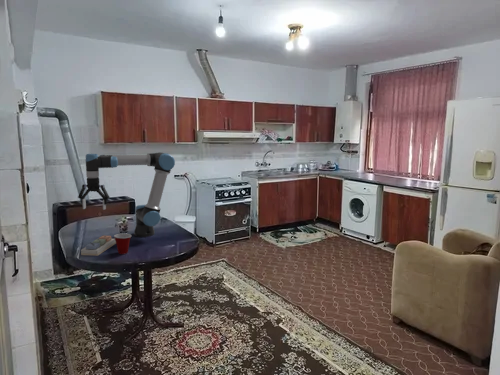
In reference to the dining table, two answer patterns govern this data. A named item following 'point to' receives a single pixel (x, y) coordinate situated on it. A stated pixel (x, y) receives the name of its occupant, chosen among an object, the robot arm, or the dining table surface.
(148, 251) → the dining table surface
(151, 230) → the robot arm
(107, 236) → the tile one
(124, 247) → the plastic cup
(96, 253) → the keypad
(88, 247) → the tile three
